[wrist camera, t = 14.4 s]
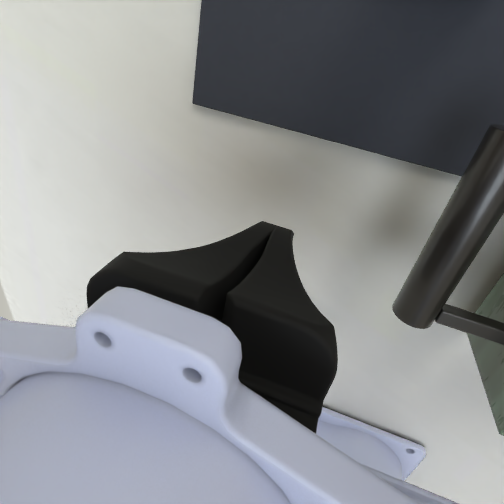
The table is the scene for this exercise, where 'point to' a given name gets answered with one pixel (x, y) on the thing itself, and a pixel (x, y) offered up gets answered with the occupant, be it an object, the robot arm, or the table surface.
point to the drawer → (465, 267)
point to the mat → (360, 72)
